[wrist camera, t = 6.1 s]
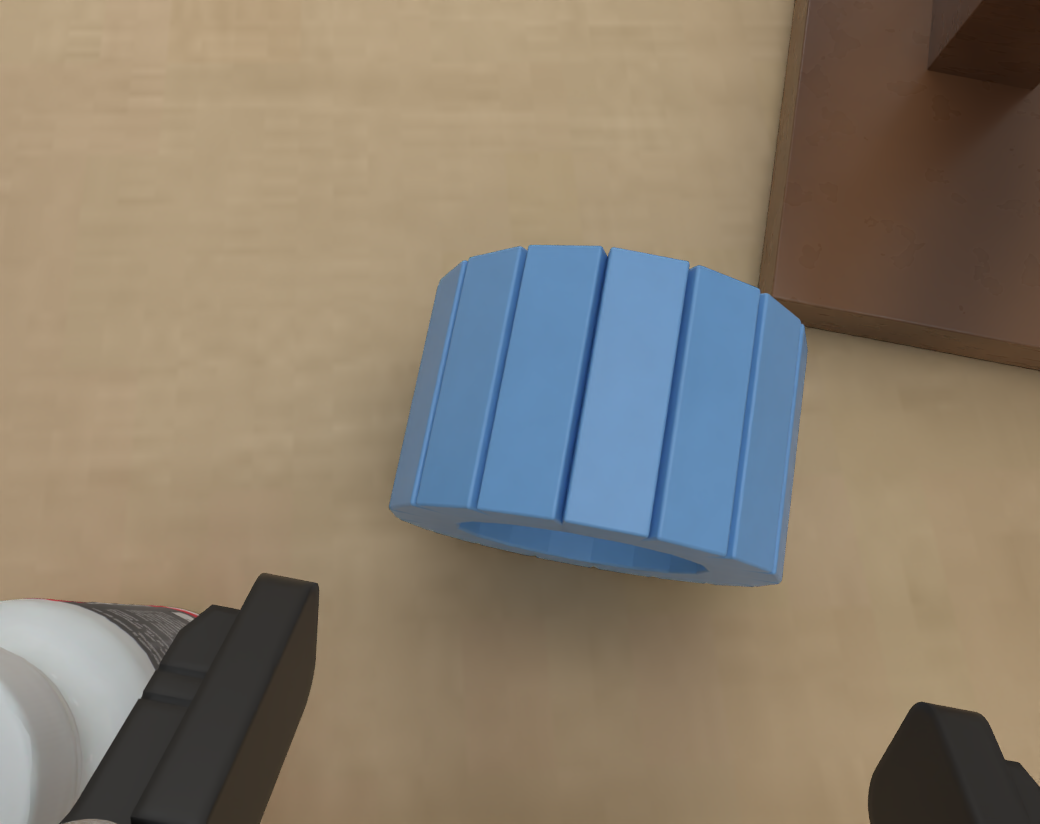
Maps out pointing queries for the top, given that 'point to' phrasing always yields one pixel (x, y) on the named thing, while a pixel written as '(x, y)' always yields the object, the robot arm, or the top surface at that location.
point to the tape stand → (911, 175)
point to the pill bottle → (69, 694)
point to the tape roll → (607, 415)
